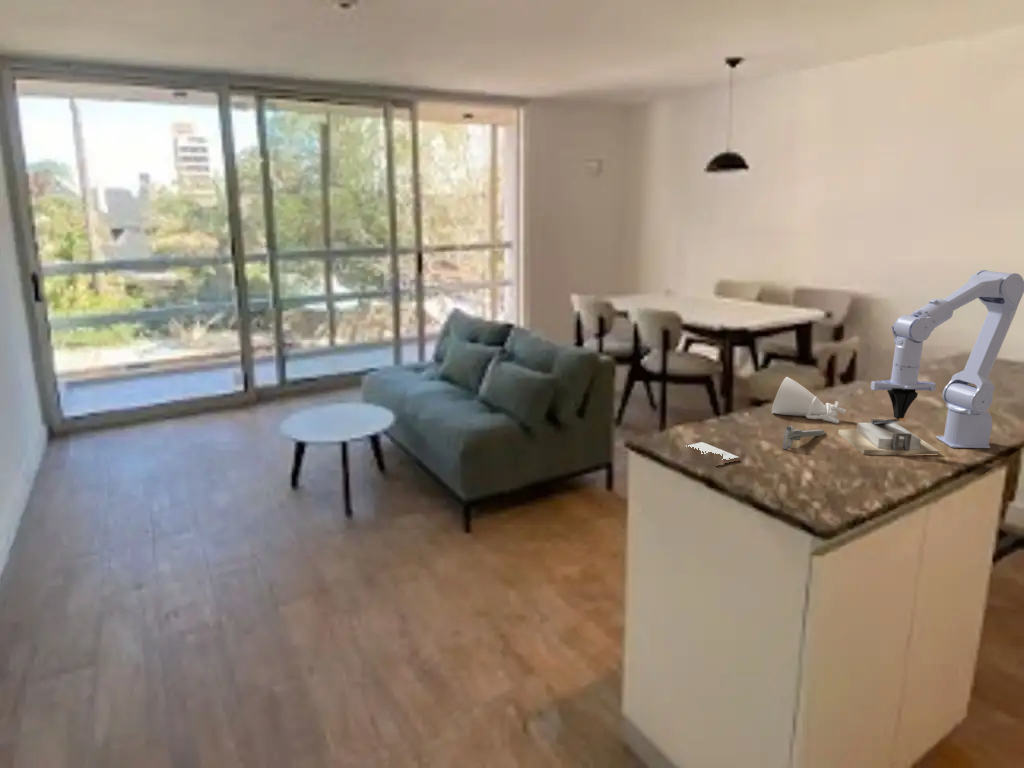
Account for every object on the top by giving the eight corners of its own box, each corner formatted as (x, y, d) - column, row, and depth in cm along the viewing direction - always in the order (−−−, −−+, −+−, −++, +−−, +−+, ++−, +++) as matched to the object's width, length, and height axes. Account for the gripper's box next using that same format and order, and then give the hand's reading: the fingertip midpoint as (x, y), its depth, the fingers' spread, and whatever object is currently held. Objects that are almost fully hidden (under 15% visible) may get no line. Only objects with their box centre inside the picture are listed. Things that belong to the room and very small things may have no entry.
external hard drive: (702, 447, 180) (739, 462, 169) (678, 453, 176) (714, 468, 165) (703, 441, 179) (740, 456, 169) (679, 447, 175) (715, 462, 165)
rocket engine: (853, 390, 194) (789, 369, 203) (838, 422, 190) (773, 399, 198) (847, 412, 203) (785, 390, 212) (832, 443, 199) (770, 420, 208)
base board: (907, 434, 186) (910, 414, 185) (938, 455, 171) (942, 434, 169) (838, 433, 188) (840, 413, 186) (863, 454, 172) (866, 433, 171)
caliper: (786, 451, 175) (788, 428, 174) (781, 450, 176) (784, 427, 175) (825, 434, 188) (828, 412, 186) (821, 433, 189) (824, 411, 187)
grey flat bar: (884, 424, 183) (884, 422, 183) (909, 420, 170) (909, 418, 171) (873, 424, 183) (873, 422, 183) (896, 420, 171) (896, 418, 171)
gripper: (882, 368, 166) (875, 422, 169) (945, 369, 165) (937, 423, 168) (870, 361, 173) (863, 414, 176) (930, 362, 172) (922, 414, 175)
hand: (898, 418), depth 173 cm, fingers closed, pressing on grey flat bar
